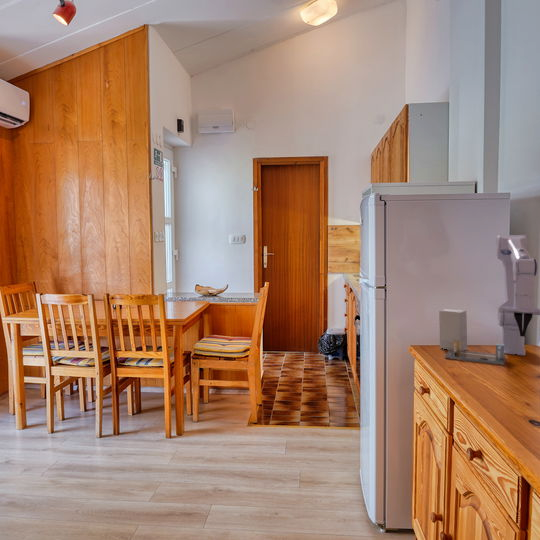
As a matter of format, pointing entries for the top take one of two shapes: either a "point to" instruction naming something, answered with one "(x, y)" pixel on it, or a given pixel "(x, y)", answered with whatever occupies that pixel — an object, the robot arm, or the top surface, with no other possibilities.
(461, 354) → the bolt plate
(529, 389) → the top surface
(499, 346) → the sliding leg
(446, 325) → the skincare box
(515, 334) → the robot arm
